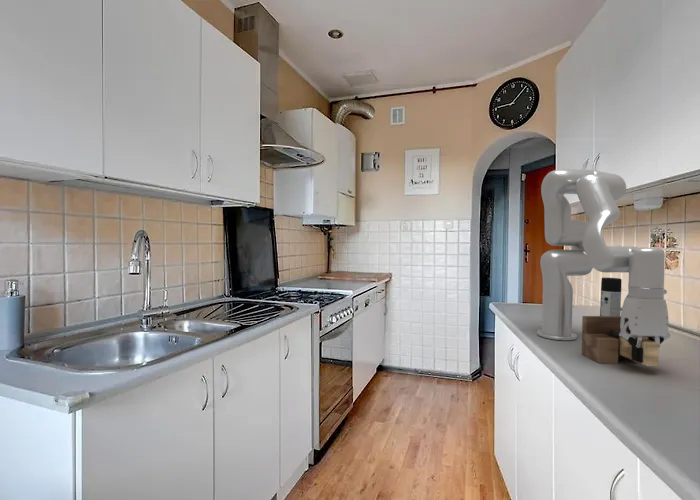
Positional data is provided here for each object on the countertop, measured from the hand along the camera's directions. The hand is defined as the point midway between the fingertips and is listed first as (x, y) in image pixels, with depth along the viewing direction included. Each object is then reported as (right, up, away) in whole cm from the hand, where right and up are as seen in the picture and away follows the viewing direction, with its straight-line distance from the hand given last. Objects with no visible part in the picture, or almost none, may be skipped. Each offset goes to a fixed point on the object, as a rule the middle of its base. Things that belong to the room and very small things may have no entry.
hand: (643, 360), depth 101 cm
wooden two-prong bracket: (0, -3, +10) cm, 11 cm away
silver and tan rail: (0, 0, +4) cm, 4 cm away
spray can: (+24, -1, +47) cm, 53 cm away
